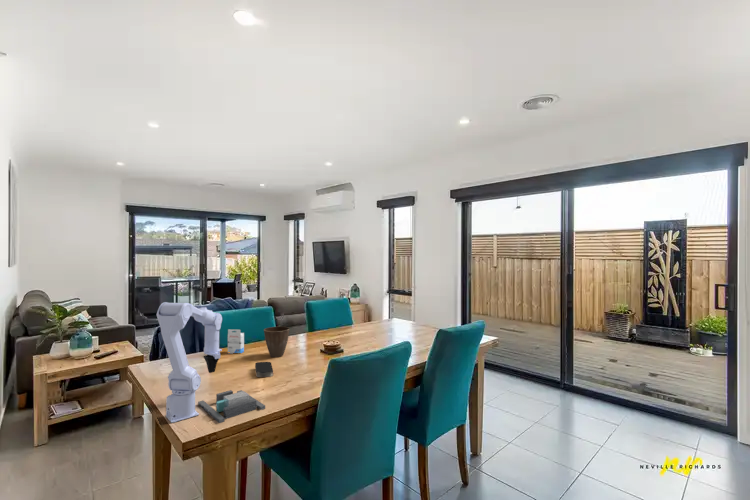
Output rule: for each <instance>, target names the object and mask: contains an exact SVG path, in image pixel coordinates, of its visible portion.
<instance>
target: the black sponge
mask: <svg viewBox="0 0 750 500" xmlns="http://www.w3.org/2000/svg"><path fill="white" fill-rule="evenodd" d="M254 368H255V369H254V370H255V375H256V377H258V378H262V377H266V378H268V377H270V378H271V377H273V376H274V370H273V369H274V368H273V365H272V362H271V361H257V362H255V365H254Z"/></svg>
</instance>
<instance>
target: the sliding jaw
mask: <svg viewBox="0 0 750 500" xmlns="http://www.w3.org/2000/svg"><path fill="white" fill-rule="evenodd" d="M231 394H234V391H233V390H231V389H230V390H227V391H226V390H225V391H223V392H219V393H216V397H215V399H216V403H215V404H216V405H215V406H216V407H215V411H217V412H218V413H221V412H222V413H223V411H224V396H227V395H231Z"/></svg>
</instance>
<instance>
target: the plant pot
mask: <svg viewBox="0 0 750 500" xmlns="http://www.w3.org/2000/svg"><path fill="white" fill-rule="evenodd" d="M263 333H264V334H263V335H264V341H265V344H266V348H267V350H268V353H269V356H270V357H271V358H279V357H283V356H284V354H285V351H286V348H287V344H288V341H289V336H290V335H289V334H290V327H287V326H271V327H266V328H264V329H263Z"/></svg>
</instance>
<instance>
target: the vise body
mask: <svg viewBox="0 0 750 500" xmlns="http://www.w3.org/2000/svg"><path fill="white" fill-rule="evenodd" d="M242 391H243V390H242V389H240V390H237V391H236V393H238V392H242ZM197 405H198V406H199V407H200V408H201V409H202V410H203V411H204V412H206V413H207V414H208V415H209V416H210V417H211V418H212V419H214V420H215V422H217V423H218V424H221V423H224V422H225V420H227V419H230V418H233V417H237V416H240V415H243V414H247V413H249V412H253V411H255V410H257V409H259V410H260V411H262V410H265V409H266V405H265V404H264V403H262V402H261V401H260V400H257V398H255V397H253V396H251V395H250V394H249V401H246V402H242V403H239V404H235V405H232V406H229V407H225V408H224V411H222V413H223V415H221V413H220V412H217V411H216V409H215V408H213V407H212V406H211V405H210V404H208V403H207V402H206V401H205V400H204V399H203V400H199V401H198V402H197Z"/></svg>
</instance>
